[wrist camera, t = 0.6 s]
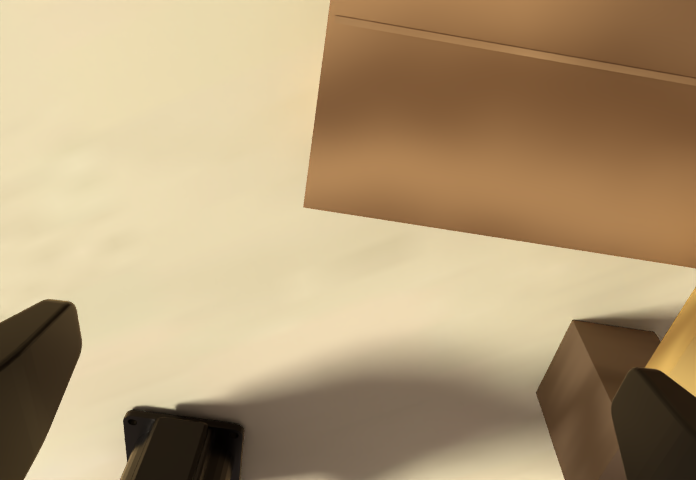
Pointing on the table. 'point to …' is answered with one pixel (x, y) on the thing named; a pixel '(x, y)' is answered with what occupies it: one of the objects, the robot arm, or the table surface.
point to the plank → (514, 121)
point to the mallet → (606, 387)
